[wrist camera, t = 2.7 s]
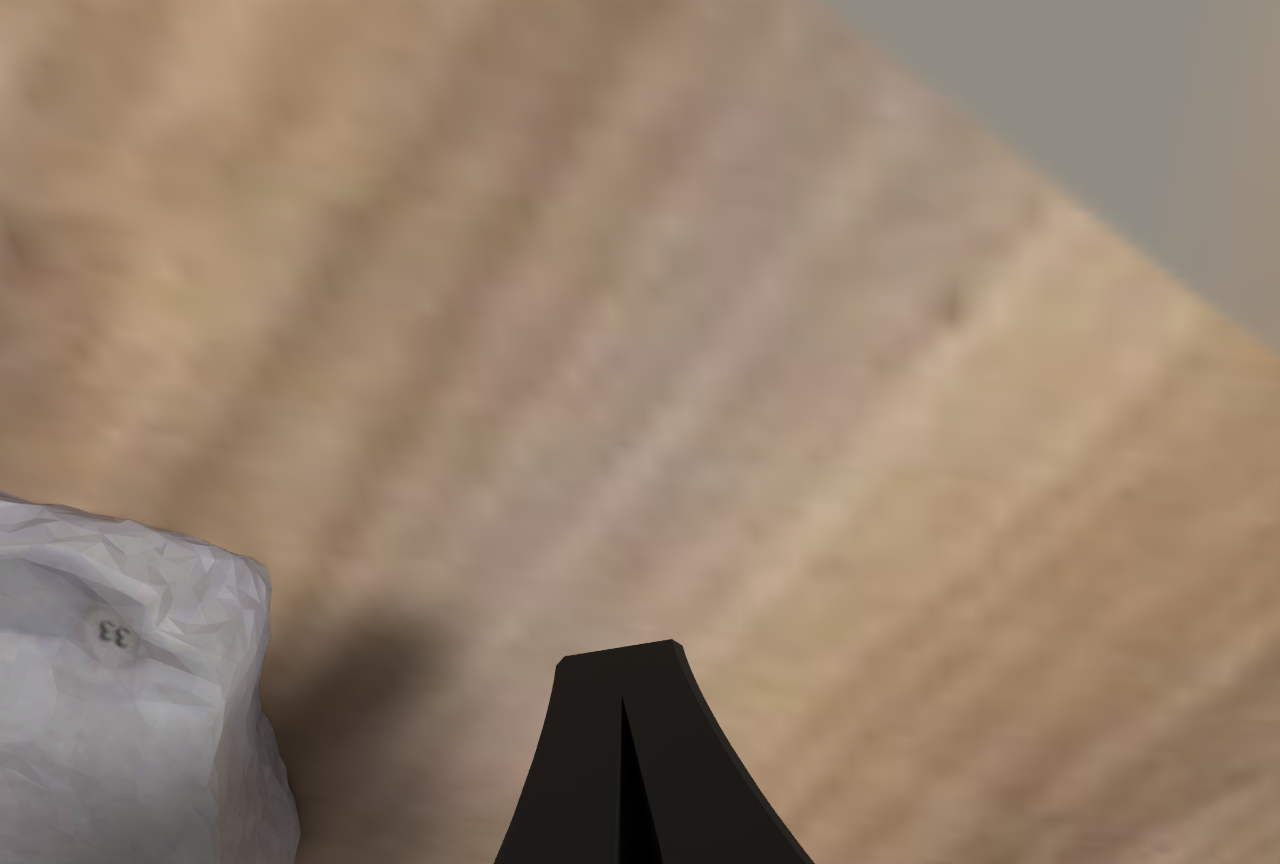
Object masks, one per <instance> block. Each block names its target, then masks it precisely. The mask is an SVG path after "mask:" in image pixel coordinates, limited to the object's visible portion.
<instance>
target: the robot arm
mask: <svg viewBox="0 0 1280 864" xmlns="http://www.w3.org/2000/svg"><path fill="white" fill-rule="evenodd" d="M494 864H815V863H814V862H813V861H812V860H811V858H810V857H809V856H808V855H807V853H806V852H805V851H804V849H803V848H802V847H801V846H800V844H799V843H798V842H797V840H796V839H795V838H794V836H793V835H792V833H791V832H790V831H789V829H788V828H787V827H786V825H785V824H784V823H783V821H782V820H781V819H780V817H779V816H778V815H777V813H776V812H775V811H774V809H773V808H772V806H771V805H770V803H769V802H768V801H767V799H766V798H765V796H764V795H763V793H762V792H761V791H760V789H759V788H758V786H757V785H756V783H755V782H754V780H753V778H752V777H751V775H750V774H749V772H748V771H747V769H746V768H745V766H744V765H743V763H742V761H741V760H740V758H739V757H738V755H737V754H736V752H735V751H734V749H733V748H732V746H731V744H730V743H729V741H728V739H727V738H726V736H725V734H724V733H723V731H722V729H721V728H720V726H719V724H718V722H717V721H716V719H715V717H714V715H713V713H712V711H711V710H710V708H709V706H708V704H707V702H706V701H705V699H704V697H703V695H702V693H701V691H700V689H699V686H698V684H697V682H696V680H695V678H694V676H693V673H692V671H691V668H690V666H689V664H688V661H687V658H686V655H685V652H684V649H683V646H682V645H680V644H679V643H677V642H676V641H674V640H673V639H670V640H663V641H657V642H651V643H645V644H639V645H632V646H626V647H620V648H614V649H608V650H601V651H595V652H589V653H583V654H577V655H570V656H564V658H563V659H562V660H561V661H560V662H559V663H558V664H557V665H556V670H555V677H554V683H553V688H552V693H551V697H550V702H549V706H548V710H547V714H546V718H545V721H544V725H543V729H542V732H541V735H540V739H539V742H538V745H537V749H536V752H535V755H534V758H533V761H532V764H531V767H530V770H529V773H528V776H527V778H526V781H525V784H524V787H523V790H522V793H521V796H520V798H519V801H518V804H517V807H516V810H515V813H514V815H513V818H512V821H511V823H510V826H509V828H508V831H507V833H506V835H505V838H504V840H503V843H502V845H501V847H500V850H499V852H498V855H497V857H496V859H495V862H494Z"/></svg>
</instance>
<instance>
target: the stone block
mask: <svg viewBox="0 0 1280 864" xmlns="http://www.w3.org/2000/svg"><path fill="white" fill-rule="evenodd" d="M271 590H272V588H271V583H270V578H269V575H268V572H267V569H266V566H265V565H263V564H261V563H260V562H258V561H256V560H255V559H253V558H251V557H247V556H242V555H237V554H234V553H232V552H229V551H227V550H225V549H222V548H220V547H218V546H216V545H213V544H211V543H209V542H206V541H204V540H199V539H197V538H194V537H192V536H188V535H185V534H182V533H179V532H172V531H164V530H158V529H154V528H151V527H148V526H145V525H143V524H140V523H137V522H134V521H132V520H129V519H114V518H112V517H109V516H103V515H94V514H91V513H88V512H85V511H83V510H80V509H76V508H72V507H68V506H65V505H53V504H39V505H37V504H34V503H31V502H28V501H25V500H22V499H20V498H17V497H15V496H12V495H10V494H8V493H5V492H2V491H0V864H294V863H295V857H296V852H297V848H298V844H299V841H300V837H301V830H300V824H299V819H298V813H297V808H296V803H295V799H294V795H293V793H292V791H291V789H290V787H289V785H288V777H287V768H286V766H285V764H284V762H283V760H282V759H281V757H280V755H279V753H278V748H277V742H276V738H275V735H274V732H273V729H272V726H271V724H270V722H269V720H268V718H267V717H266V716H265V715H264V713H263V712H262V711H261V703H260V695H259V689H258V685H259V680H260V676H261V672H262V667H263V661H264V655H265V652H266V650H267V647H268V644H269V641H270V638H271V632H270V597H271Z"/></svg>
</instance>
